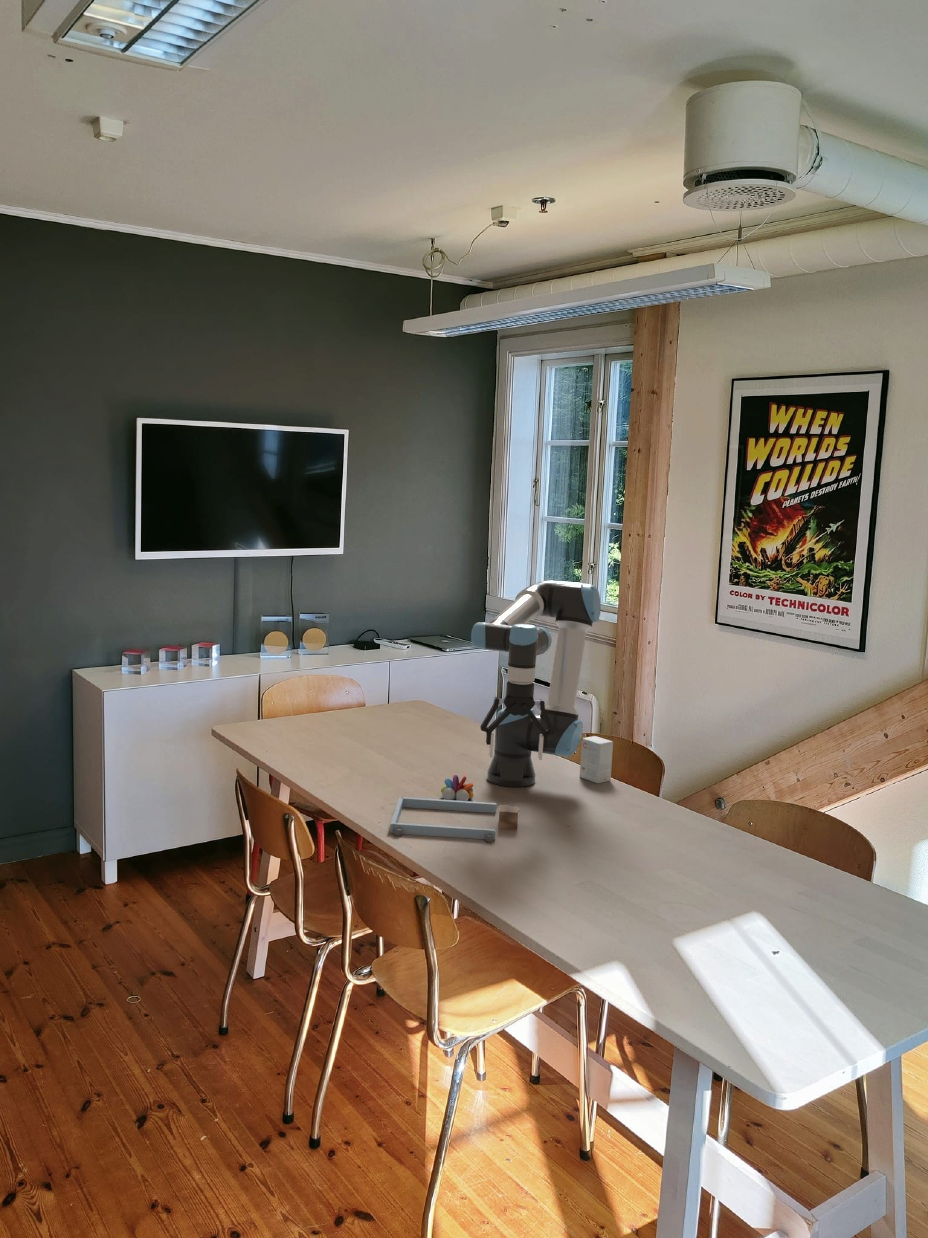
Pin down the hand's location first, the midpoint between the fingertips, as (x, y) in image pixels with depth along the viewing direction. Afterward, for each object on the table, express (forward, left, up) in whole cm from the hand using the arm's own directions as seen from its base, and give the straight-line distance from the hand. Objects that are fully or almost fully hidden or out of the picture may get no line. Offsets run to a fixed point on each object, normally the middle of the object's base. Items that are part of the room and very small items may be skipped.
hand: (515, 757), depth 277 cm
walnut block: (+1, +3, -19) cm, 19 cm away
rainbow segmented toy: (+16, -17, -19) cm, 30 cm away
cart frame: (+18, +3, -19) cm, 26 cm away
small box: (-27, -46, -19) cm, 56 cm away
